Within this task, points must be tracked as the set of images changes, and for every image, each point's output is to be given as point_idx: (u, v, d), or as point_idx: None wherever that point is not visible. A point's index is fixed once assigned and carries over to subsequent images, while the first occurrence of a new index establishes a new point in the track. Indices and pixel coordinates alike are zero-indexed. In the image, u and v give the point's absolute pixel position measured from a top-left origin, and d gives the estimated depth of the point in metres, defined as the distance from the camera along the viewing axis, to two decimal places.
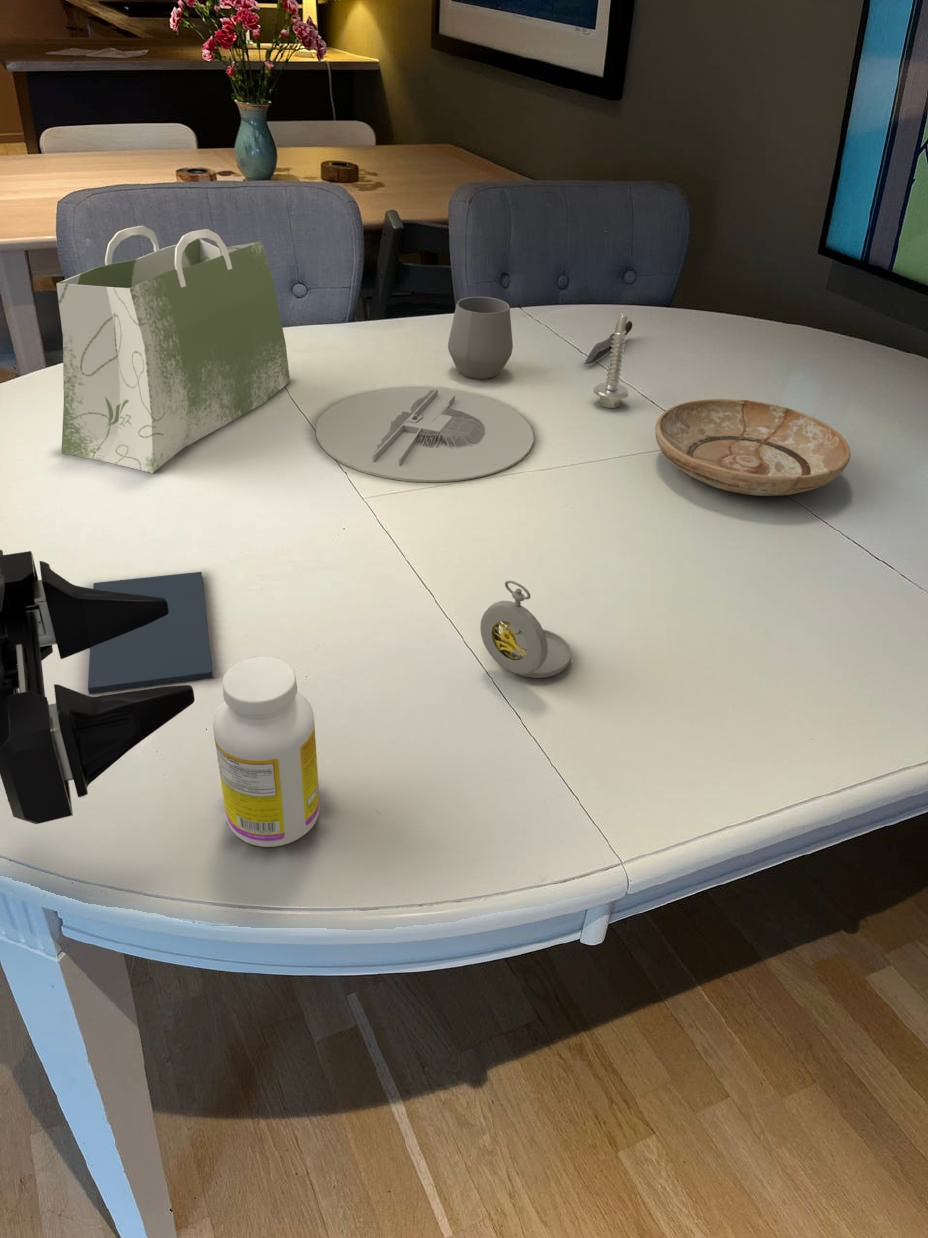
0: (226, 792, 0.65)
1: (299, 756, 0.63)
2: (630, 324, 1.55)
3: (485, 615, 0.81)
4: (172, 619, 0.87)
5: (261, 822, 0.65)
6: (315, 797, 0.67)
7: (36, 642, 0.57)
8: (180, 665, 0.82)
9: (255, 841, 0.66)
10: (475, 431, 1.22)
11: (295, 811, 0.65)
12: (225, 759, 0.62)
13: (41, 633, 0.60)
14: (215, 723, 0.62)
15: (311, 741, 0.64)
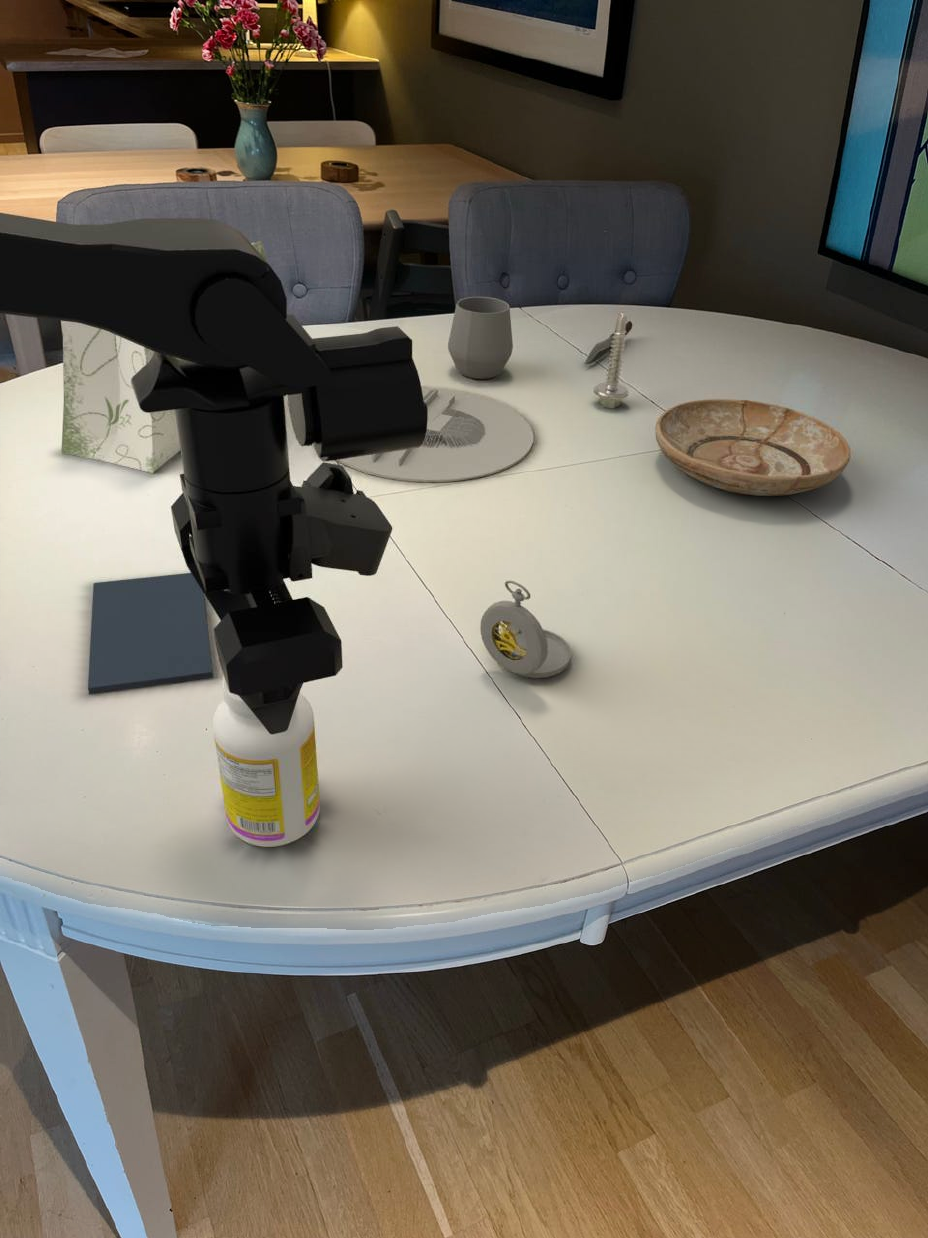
0: (226, 792, 0.65)
1: (299, 756, 0.63)
2: (630, 324, 1.55)
3: (485, 615, 0.81)
4: (172, 619, 0.87)
5: (261, 822, 0.65)
6: (315, 797, 0.67)
7: None
8: (180, 665, 0.82)
9: (255, 841, 0.66)
10: (475, 431, 1.22)
11: (295, 811, 0.65)
12: (225, 759, 0.62)
13: None
14: (215, 723, 0.62)
15: (311, 741, 0.64)
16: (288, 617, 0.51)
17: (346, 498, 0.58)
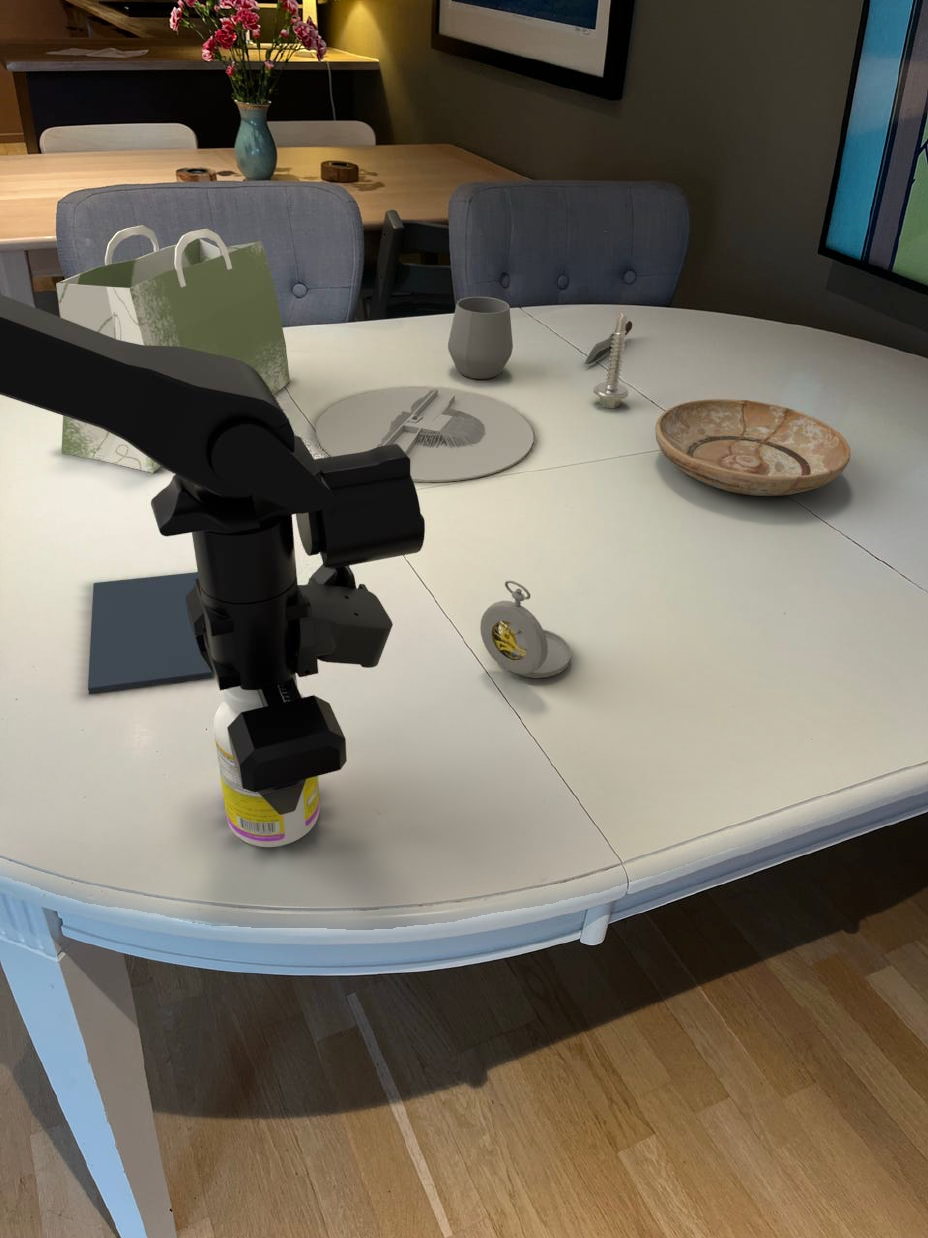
0: (226, 792, 0.65)
1: None
2: (630, 324, 1.55)
3: (485, 615, 0.81)
4: (172, 619, 0.87)
5: (261, 823, 0.65)
6: (315, 798, 0.67)
7: None
8: (180, 665, 0.82)
9: (255, 841, 0.66)
10: (475, 431, 1.22)
11: (295, 811, 0.65)
12: (225, 759, 0.62)
13: None
14: (215, 723, 0.62)
15: None
16: (296, 717, 0.55)
17: (349, 594, 0.62)
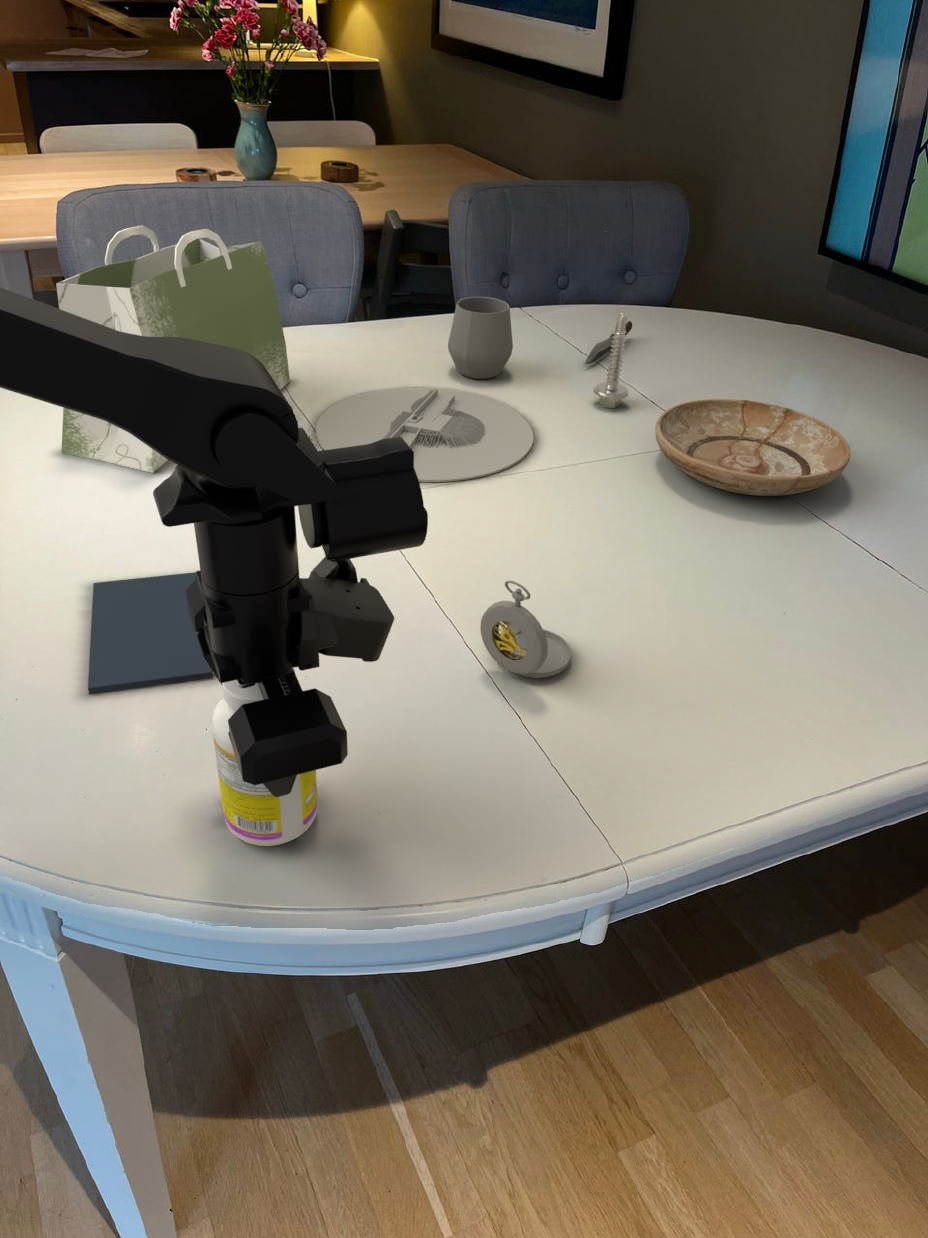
0: (224, 790, 0.64)
1: None
2: (630, 324, 1.55)
3: (485, 615, 0.81)
4: (172, 619, 0.87)
5: (259, 821, 0.65)
6: (313, 797, 0.67)
7: None
8: (180, 665, 0.82)
9: (252, 840, 0.66)
10: (475, 431, 1.22)
11: (292, 810, 0.65)
12: (223, 757, 0.62)
13: None
14: (214, 721, 0.62)
15: None
16: (297, 710, 0.55)
17: (351, 588, 0.62)
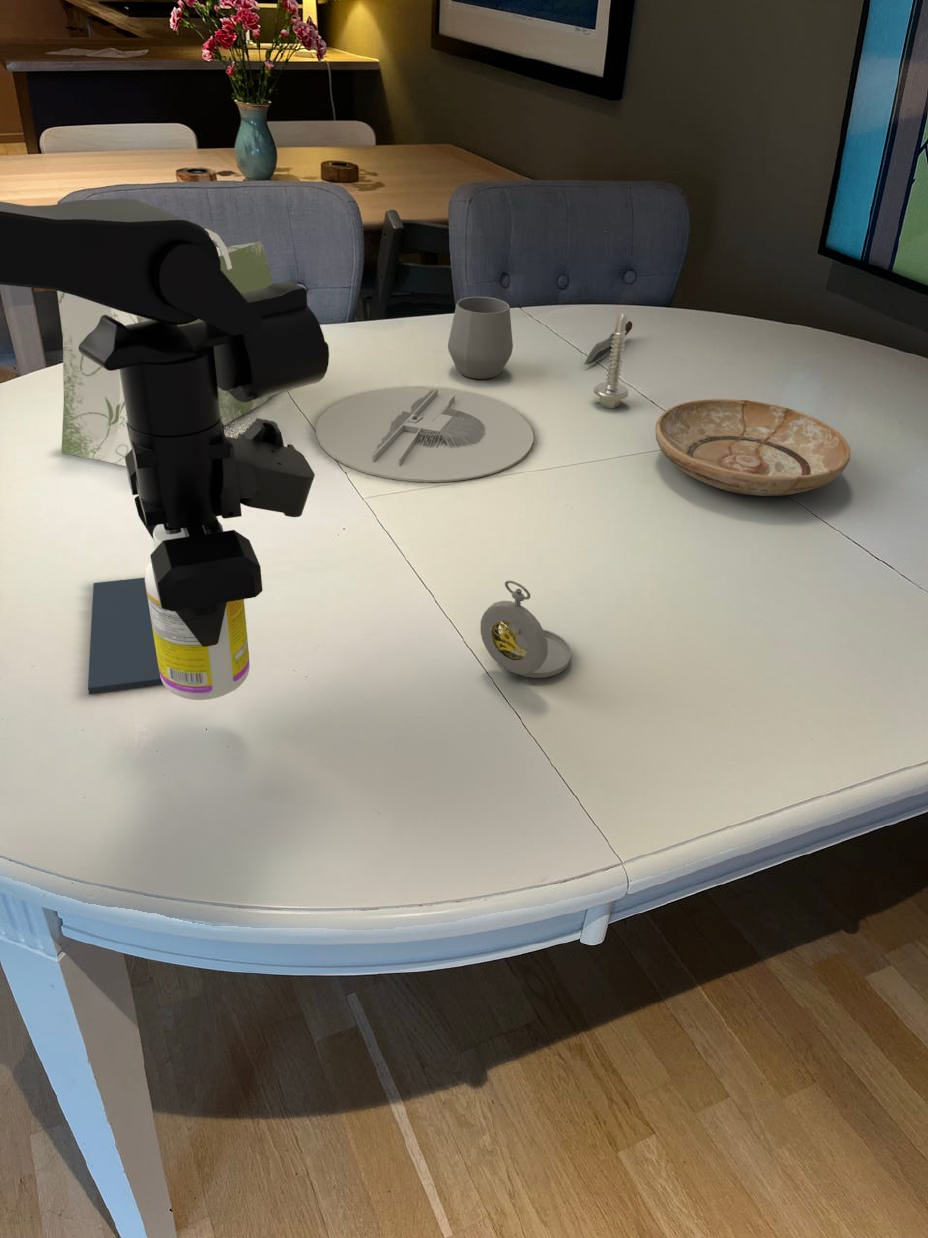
0: (157, 643, 0.68)
1: None
2: (630, 324, 1.55)
3: (485, 615, 0.81)
4: None
5: (190, 673, 0.68)
6: (243, 655, 0.71)
7: None
8: None
9: (184, 693, 0.70)
10: (475, 431, 1.22)
11: (222, 663, 0.69)
12: (155, 606, 0.66)
13: None
14: (146, 573, 0.66)
15: None
16: (215, 545, 0.59)
17: (276, 449, 0.66)
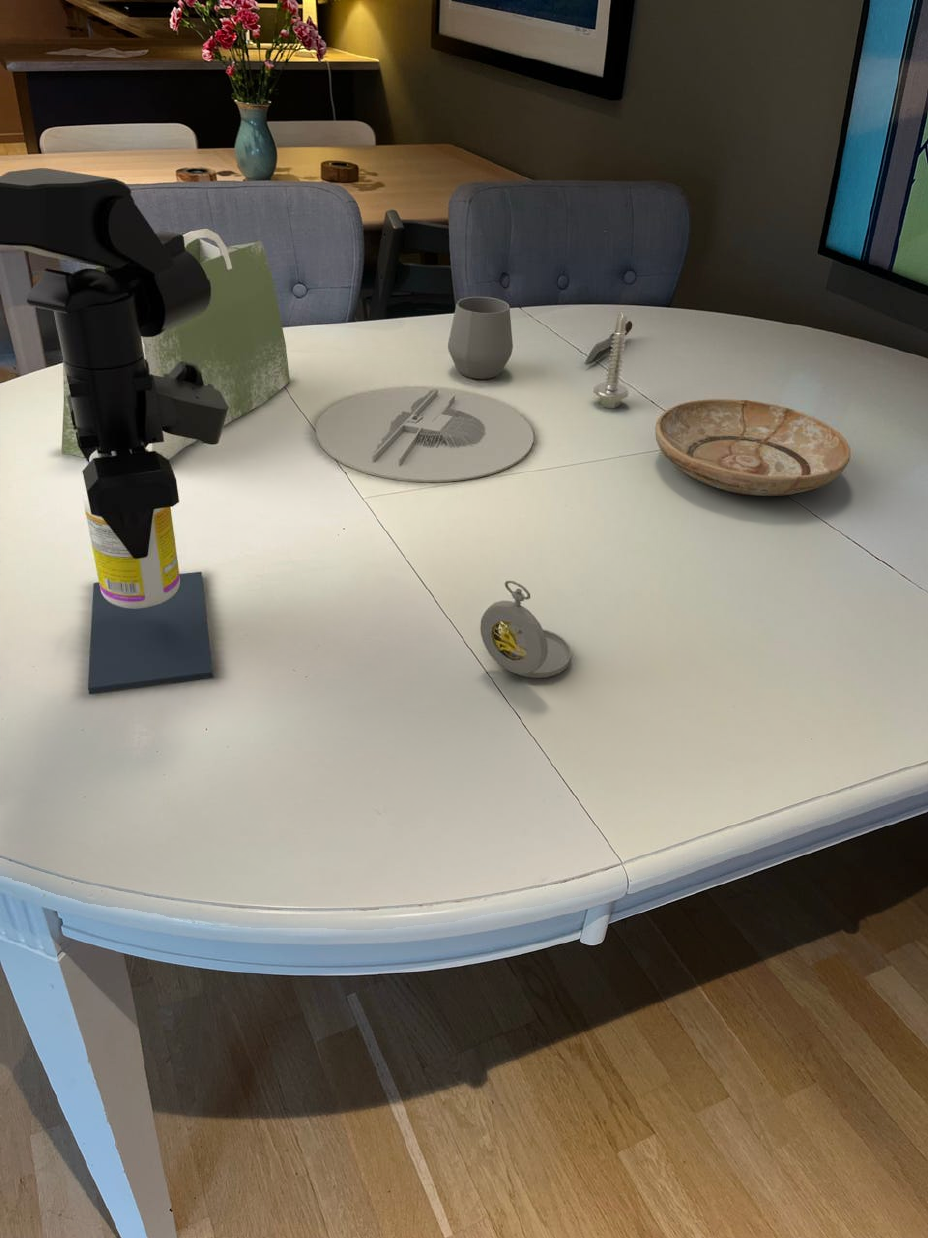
0: (96, 557, 0.79)
1: (153, 524, 0.77)
2: (630, 324, 1.55)
3: (485, 615, 0.81)
4: (172, 619, 0.87)
5: (124, 583, 0.79)
6: (172, 569, 0.81)
7: None
8: (180, 665, 0.82)
9: (120, 602, 0.80)
10: (475, 431, 1.22)
11: (152, 575, 0.79)
12: (92, 523, 0.76)
13: None
14: (84, 494, 0.77)
15: (165, 514, 0.78)
16: (137, 462, 0.69)
17: (196, 387, 0.77)
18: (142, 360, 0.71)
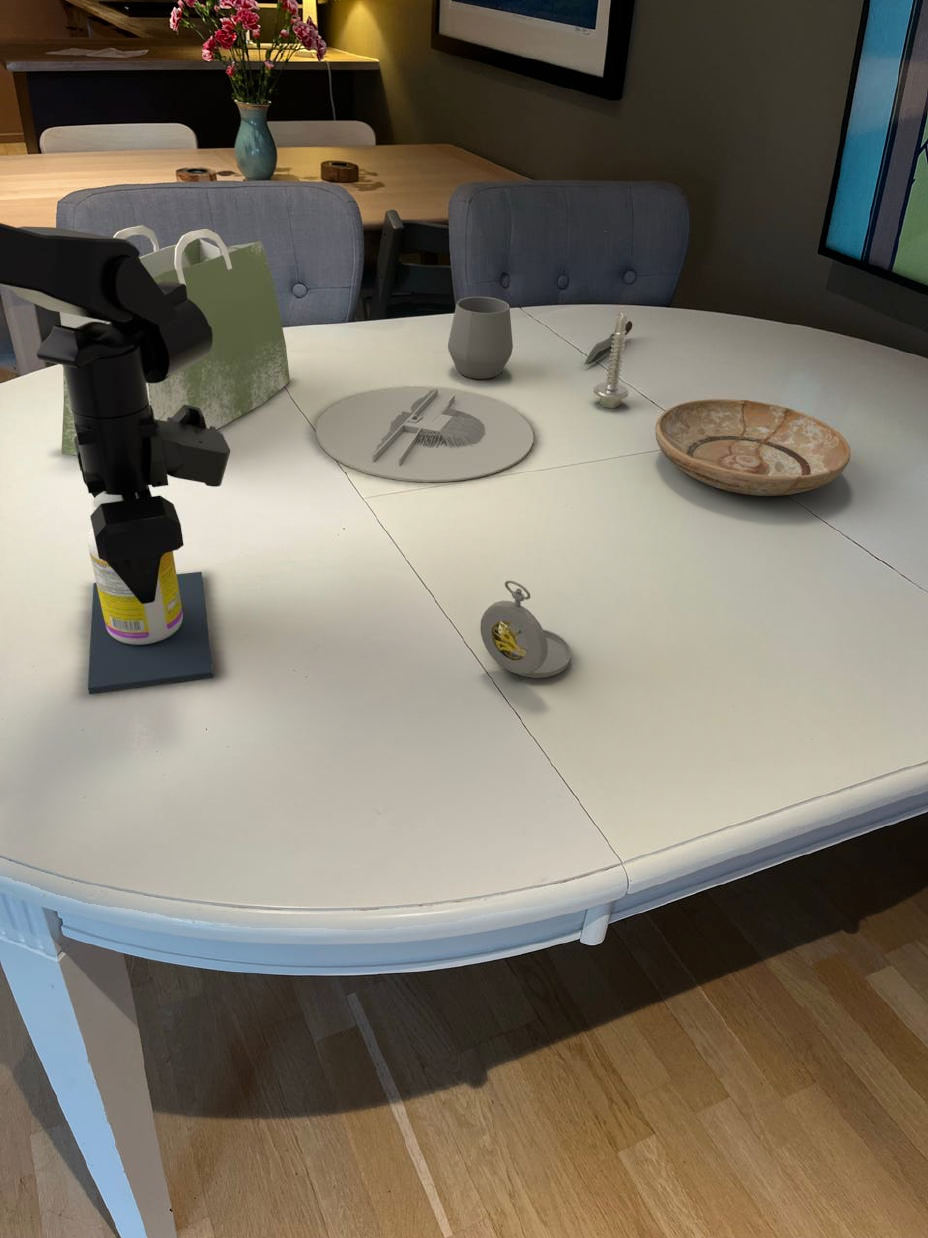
0: (100, 596, 0.81)
1: None
2: (630, 324, 1.55)
3: (485, 615, 0.81)
4: None
5: (129, 621, 0.81)
6: (175, 606, 0.84)
7: None
8: (180, 665, 0.82)
9: (125, 639, 0.83)
10: (475, 431, 1.22)
11: (156, 613, 0.82)
12: (96, 564, 0.79)
13: None
14: (88, 536, 0.79)
15: (166, 554, 0.80)
16: (143, 507, 0.72)
17: (199, 430, 0.79)
18: (147, 408, 0.74)
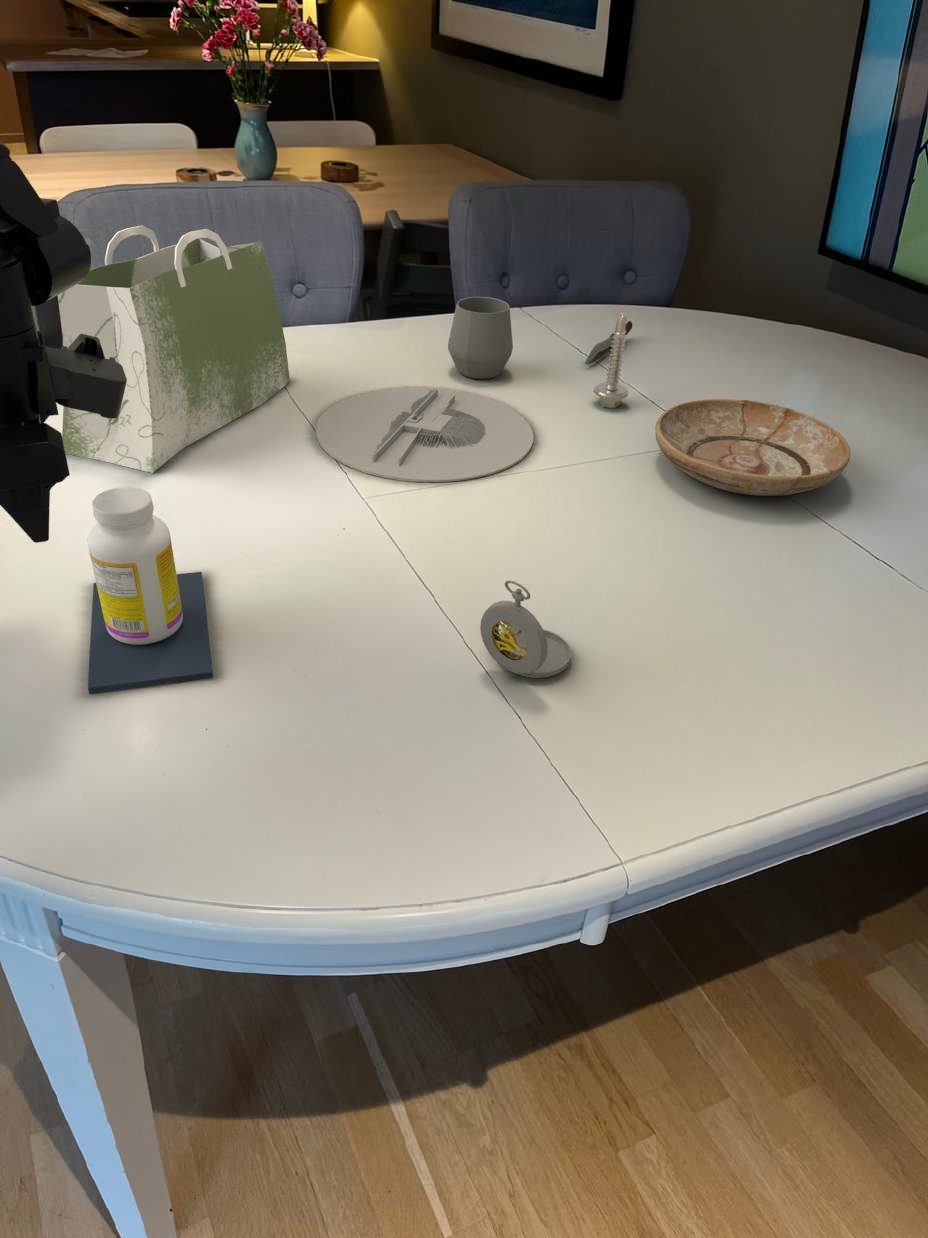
0: (100, 596, 0.81)
1: (155, 564, 0.79)
2: (630, 324, 1.55)
3: (485, 615, 0.81)
4: None
5: (129, 621, 0.81)
6: (175, 606, 0.84)
7: None
8: (180, 665, 0.82)
9: (125, 639, 0.83)
10: (475, 431, 1.22)
11: (156, 613, 0.82)
12: (96, 564, 0.79)
13: None
14: (88, 537, 0.79)
15: (166, 554, 0.80)
16: (24, 434, 0.68)
17: (95, 359, 0.75)
18: (32, 330, 0.70)
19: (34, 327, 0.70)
